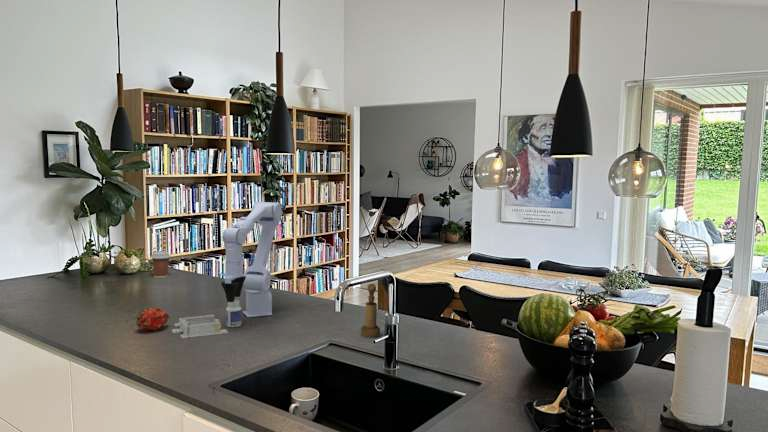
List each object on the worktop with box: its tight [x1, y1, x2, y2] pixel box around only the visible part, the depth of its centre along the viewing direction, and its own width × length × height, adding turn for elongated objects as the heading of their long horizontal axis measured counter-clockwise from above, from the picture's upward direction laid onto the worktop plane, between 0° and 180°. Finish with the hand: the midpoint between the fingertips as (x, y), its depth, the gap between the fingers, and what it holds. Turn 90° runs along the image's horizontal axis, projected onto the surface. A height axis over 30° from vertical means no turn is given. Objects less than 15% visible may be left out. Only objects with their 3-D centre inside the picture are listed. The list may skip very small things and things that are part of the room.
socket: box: [171, 314, 229, 339], centre depth 188 cm, size 17×16×3 cm
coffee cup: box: [150, 251, 171, 279], centre depth 270 cm, size 9×9×12 cm
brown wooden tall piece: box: [360, 283, 381, 339], centre depth 187 cm, size 7×6×18 cm
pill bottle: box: [225, 299, 242, 328], centre depth 194 cm, size 5×5×9 cm
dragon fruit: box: [136, 306, 170, 332], centre depth 186 cm, size 8×8×12 cm
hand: (233, 299), depth 193 cm, fingers open, 7 cm apart
